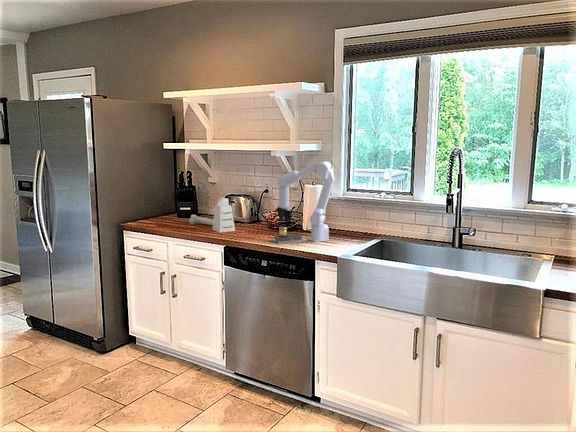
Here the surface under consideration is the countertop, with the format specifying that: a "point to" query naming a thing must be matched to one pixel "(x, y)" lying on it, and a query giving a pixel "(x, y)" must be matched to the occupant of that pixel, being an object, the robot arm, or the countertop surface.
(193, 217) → the grey flared rod
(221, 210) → the grater
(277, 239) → the manifold plate
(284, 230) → the cylinder
